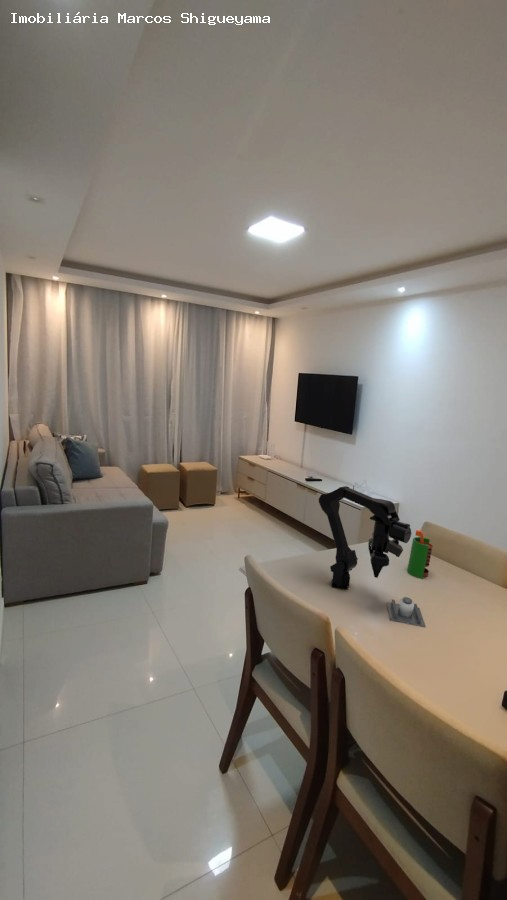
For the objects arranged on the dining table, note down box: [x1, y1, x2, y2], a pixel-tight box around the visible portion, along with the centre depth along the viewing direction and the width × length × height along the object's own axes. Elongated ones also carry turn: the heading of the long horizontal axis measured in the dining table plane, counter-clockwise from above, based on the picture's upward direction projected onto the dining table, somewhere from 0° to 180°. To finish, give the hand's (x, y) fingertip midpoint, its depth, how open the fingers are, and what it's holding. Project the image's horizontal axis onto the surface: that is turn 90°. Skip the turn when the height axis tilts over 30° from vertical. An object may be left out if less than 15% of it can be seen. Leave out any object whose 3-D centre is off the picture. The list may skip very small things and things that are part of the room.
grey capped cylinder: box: [398, 596, 415, 617], centre depth 150 cm, size 5×5×6 cm
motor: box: [406, 529, 434, 580], centre depth 184 cm, size 10×9×20 cm
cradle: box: [386, 598, 426, 628], centre depth 150 cm, size 12×12×2 cm
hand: (374, 571), depth 156 cm, fingers open, 9 cm apart
